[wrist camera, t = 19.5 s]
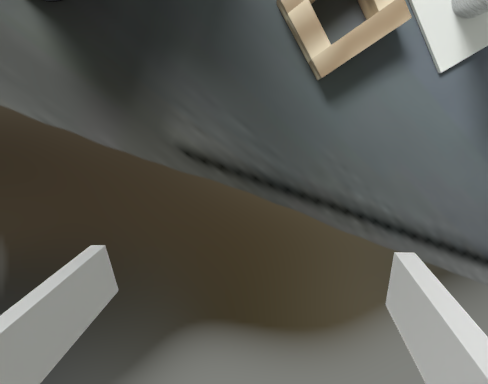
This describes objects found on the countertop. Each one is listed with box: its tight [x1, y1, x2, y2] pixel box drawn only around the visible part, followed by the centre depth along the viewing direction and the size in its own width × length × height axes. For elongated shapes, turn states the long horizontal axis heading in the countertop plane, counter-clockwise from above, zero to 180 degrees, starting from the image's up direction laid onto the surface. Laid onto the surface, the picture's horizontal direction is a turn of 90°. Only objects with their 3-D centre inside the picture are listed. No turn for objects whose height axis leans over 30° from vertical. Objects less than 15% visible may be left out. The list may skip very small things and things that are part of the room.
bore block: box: [277, 0, 412, 80], centre depth 29 cm, size 11×11×4 cm
